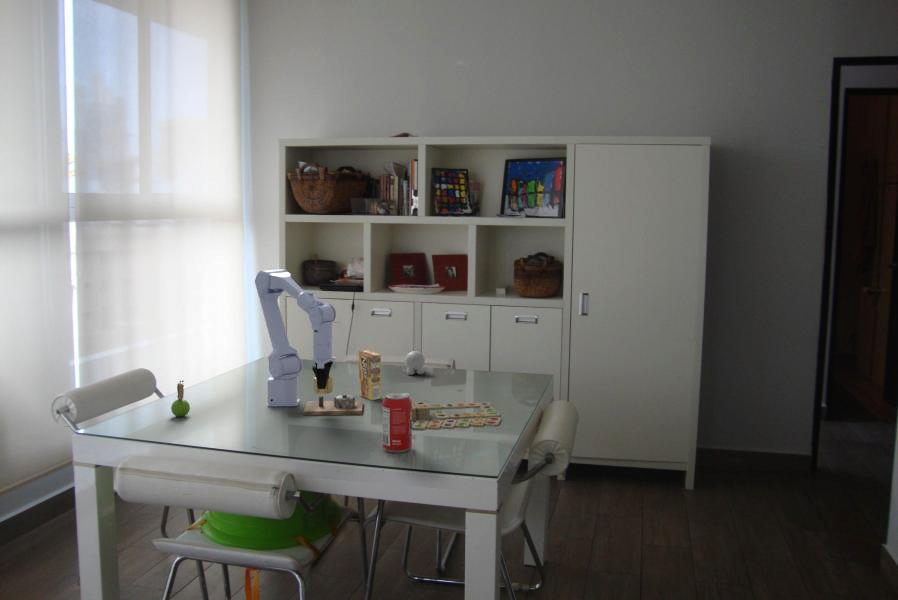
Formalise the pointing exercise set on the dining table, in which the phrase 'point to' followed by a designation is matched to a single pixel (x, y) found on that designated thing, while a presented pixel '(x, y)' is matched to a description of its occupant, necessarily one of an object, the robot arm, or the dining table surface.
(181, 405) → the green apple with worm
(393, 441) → the soda can
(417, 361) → the chubby cartoon animal
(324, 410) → the gear board
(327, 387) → the brass gear
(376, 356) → the candy box
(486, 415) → the pile of dominoes
